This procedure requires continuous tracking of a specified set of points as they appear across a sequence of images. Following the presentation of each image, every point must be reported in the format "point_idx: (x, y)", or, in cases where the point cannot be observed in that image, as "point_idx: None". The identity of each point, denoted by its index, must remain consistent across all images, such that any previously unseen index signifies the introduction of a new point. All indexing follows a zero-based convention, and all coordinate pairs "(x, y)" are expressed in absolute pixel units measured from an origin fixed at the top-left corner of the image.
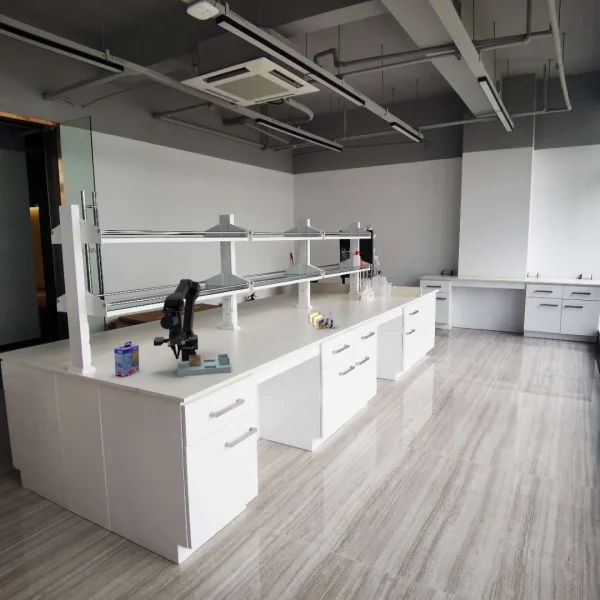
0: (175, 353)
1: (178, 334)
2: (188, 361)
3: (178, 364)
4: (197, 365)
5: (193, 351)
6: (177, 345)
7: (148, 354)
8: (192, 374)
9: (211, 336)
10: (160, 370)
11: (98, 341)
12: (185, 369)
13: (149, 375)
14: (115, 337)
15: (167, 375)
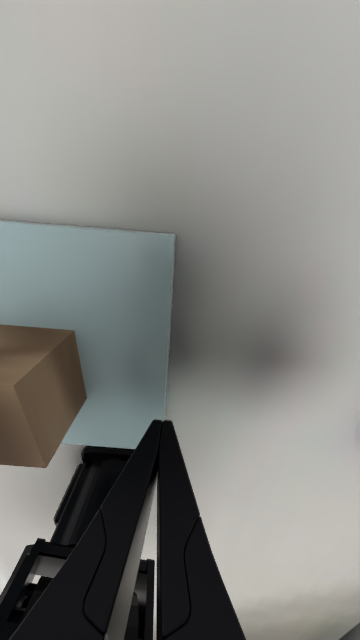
0: (171, 496)
1: None
2: (100, 438)
3: (161, 405)
4: (2, 327)
5: (61, 531)
6: (149, 622)
7: (261, 553)
8: (56, 224)
9: None
10: (263, 399)
11: (349, 624)
12: (97, 260)
13: (353, 332)
14: (303, 629)
15: (244, 292)
